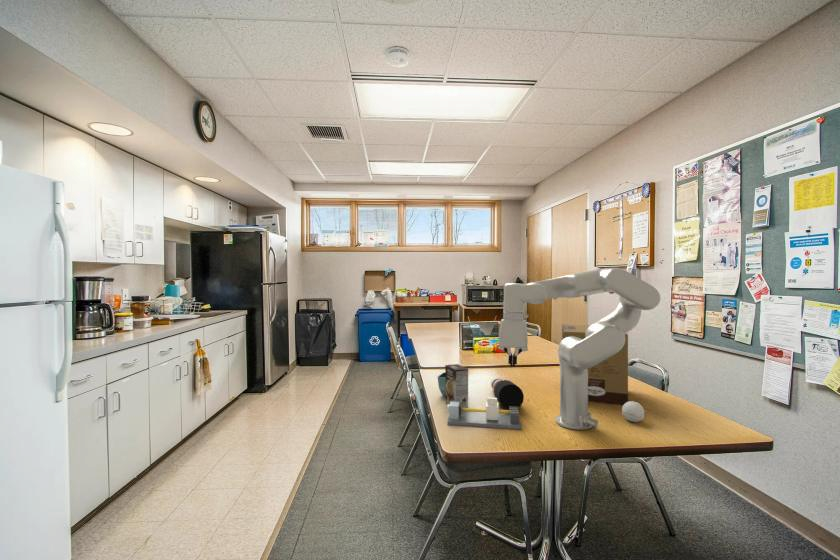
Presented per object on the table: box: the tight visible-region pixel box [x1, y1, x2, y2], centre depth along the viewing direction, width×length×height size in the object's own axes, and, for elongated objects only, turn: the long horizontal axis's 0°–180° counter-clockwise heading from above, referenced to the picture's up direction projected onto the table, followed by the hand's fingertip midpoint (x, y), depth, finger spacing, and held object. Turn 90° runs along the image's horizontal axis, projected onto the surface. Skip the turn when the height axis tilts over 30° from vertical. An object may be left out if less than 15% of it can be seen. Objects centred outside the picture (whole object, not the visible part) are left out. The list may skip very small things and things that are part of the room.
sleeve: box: [485, 397, 500, 420], centre depth 136 cm, size 4×5×7 cm
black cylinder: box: [490, 377, 525, 410], centre depth 164 cm, size 10×34×10 cm, turn 176°
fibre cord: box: [461, 407, 510, 415], centre depth 137 cm, size 22×1×1 cm, turn 80°
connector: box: [446, 401, 463, 419], centre depth 139 cm, size 5×5×5 cm
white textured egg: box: [621, 400, 650, 423], centre depth 135 cm, size 10×7×7 cm
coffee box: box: [444, 363, 469, 408], centre depth 155 cm, size 9×6×16 cm
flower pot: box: [437, 371, 446, 397], centre depth 168 cm, size 9×9×9 cm
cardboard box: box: [561, 324, 629, 406], centre depth 169 cm, size 26×26×30 cm
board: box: [447, 406, 522, 430], centre depth 137 cm, size 26×10×5 cm, turn 80°
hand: (512, 365), depth 136 cm, fingers closed
